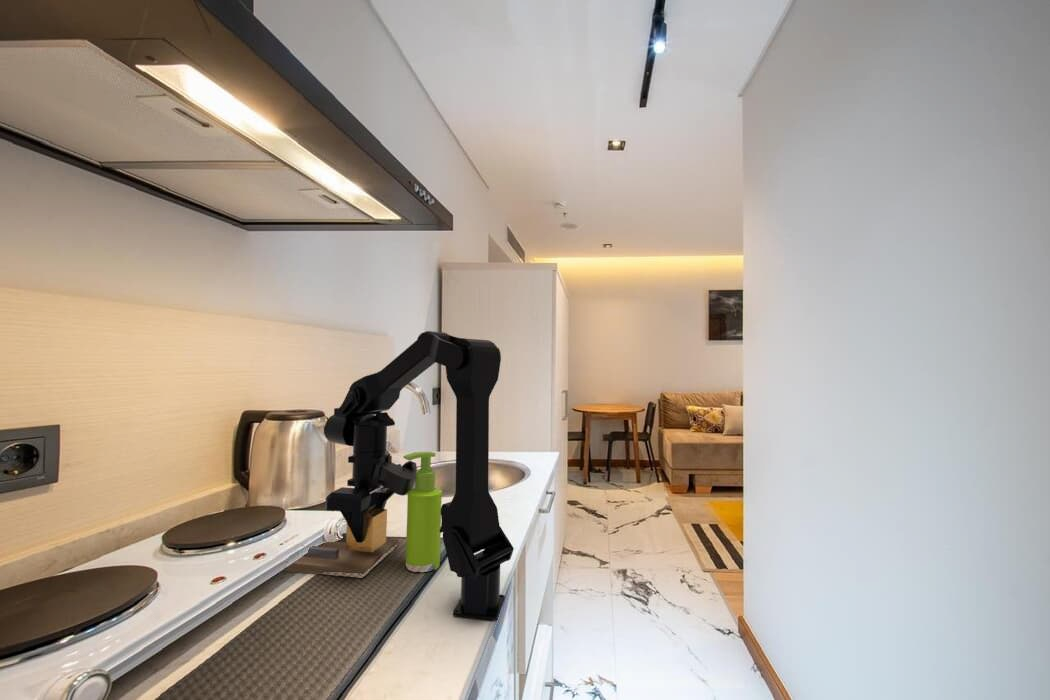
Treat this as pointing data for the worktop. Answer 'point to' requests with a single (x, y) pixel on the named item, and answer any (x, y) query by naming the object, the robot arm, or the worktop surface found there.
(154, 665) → the worktop surface
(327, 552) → the dock
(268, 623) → the worktop surface
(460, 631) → the worktop surface
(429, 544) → the soap dispenser
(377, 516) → the block
